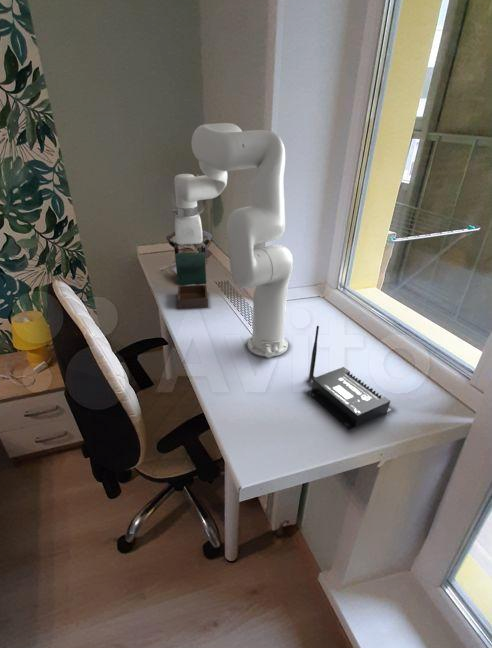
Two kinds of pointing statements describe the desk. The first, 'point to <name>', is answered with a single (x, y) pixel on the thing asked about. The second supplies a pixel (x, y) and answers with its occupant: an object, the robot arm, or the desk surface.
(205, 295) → the drawer box
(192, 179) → the robot arm
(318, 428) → the desk surface
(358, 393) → the wireless controller
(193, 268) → the panel with handle
